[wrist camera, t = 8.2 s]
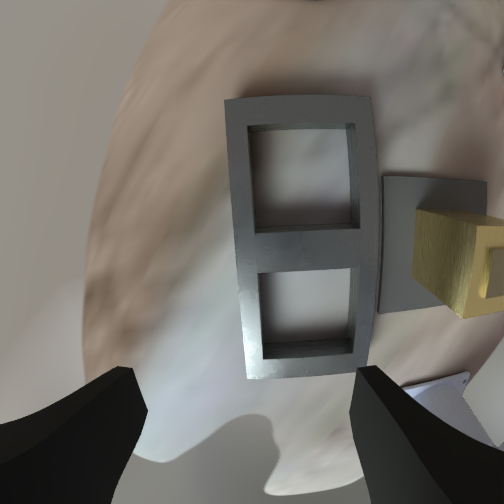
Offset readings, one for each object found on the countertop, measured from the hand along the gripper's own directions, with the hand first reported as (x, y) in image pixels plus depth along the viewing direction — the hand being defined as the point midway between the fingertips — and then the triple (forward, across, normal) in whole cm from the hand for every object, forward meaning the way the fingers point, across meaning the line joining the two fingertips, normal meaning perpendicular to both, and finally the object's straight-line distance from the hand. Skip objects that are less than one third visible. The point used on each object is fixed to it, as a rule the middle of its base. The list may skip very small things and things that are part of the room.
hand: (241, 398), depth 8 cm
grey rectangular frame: (+10, -3, -2) cm, 11 cm away
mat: (+10, -12, -2) cm, 16 cm away
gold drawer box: (+10, -12, -2) cm, 16 cm away
